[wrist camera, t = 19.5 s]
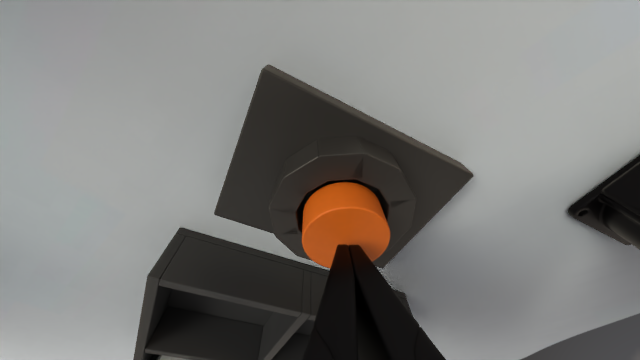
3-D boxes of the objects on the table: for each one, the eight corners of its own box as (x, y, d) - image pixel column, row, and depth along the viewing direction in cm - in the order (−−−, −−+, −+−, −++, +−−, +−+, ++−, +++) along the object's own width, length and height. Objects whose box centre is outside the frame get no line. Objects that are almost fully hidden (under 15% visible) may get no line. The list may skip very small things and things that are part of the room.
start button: (395, 198, 11) (409, 226, 9) (354, 248, 12) (360, 278, 11) (324, 168, 10) (326, 194, 8) (291, 226, 11) (287, 256, 10)
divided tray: (404, 293, 19) (421, 340, 16) (312, 372, 28) (312, 413, 25) (179, 227, 15) (146, 276, 12) (151, 346, 23) (127, 392, 20)
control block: (461, 162, 13) (497, 195, 10) (378, 253, 17) (389, 293, 14) (267, 63, 10) (252, 75, 7) (221, 200, 14) (200, 238, 11)
